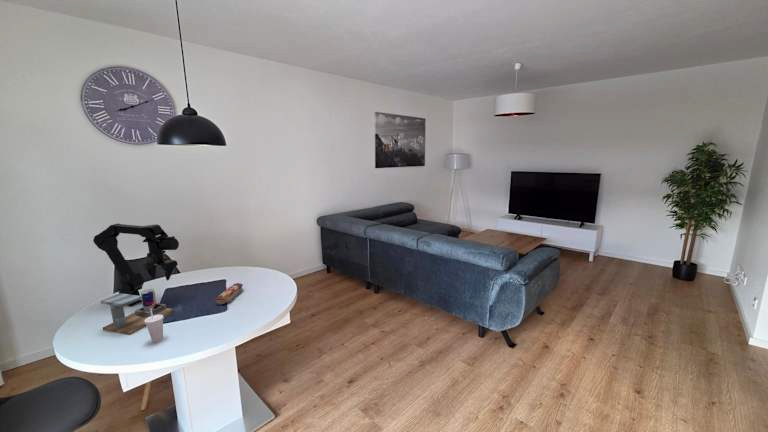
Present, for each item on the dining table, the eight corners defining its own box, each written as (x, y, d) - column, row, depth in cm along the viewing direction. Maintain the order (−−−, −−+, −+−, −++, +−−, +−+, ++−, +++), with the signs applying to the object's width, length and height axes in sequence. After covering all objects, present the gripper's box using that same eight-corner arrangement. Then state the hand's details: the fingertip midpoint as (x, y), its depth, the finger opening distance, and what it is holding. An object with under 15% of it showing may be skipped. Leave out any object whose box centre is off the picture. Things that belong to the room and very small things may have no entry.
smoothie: (154, 335, 134) (149, 305, 131) (170, 334, 134) (165, 304, 131) (144, 344, 127) (138, 312, 125) (161, 343, 128) (155, 311, 125)
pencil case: (208, 304, 162) (206, 295, 161) (234, 288, 180) (233, 280, 179) (226, 307, 159) (225, 297, 158) (251, 290, 177) (250, 282, 176)
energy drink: (151, 317, 149) (147, 294, 147) (141, 316, 150) (137, 293, 148) (161, 312, 154) (157, 289, 152) (151, 311, 155) (147, 288, 153)
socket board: (102, 330, 139) (96, 301, 136) (149, 307, 159) (144, 282, 156) (130, 334, 135) (124, 305, 132) (174, 311, 155) (170, 285, 152)
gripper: (125, 253, 153) (130, 284, 156) (155, 256, 148) (160, 287, 151) (147, 247, 163) (152, 275, 166) (176, 249, 159) (180, 278, 162)
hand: (160, 279), depth 161 cm, fingers open, 9 cm apart
